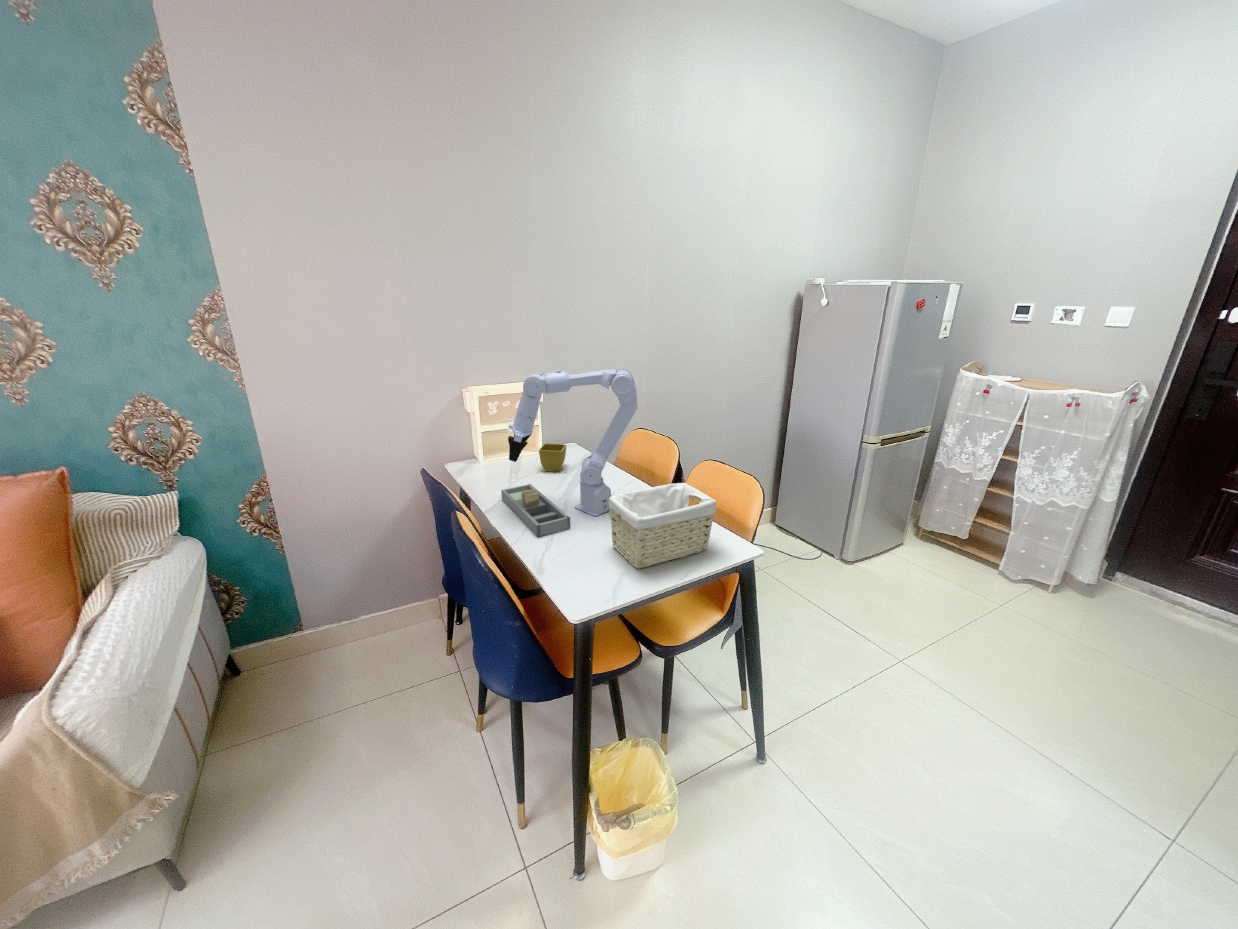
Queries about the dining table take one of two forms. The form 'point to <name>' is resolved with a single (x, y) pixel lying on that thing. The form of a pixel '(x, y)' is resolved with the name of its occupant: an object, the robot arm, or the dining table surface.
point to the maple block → (530, 498)
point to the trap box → (536, 512)
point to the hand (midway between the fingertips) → (514, 456)
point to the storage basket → (660, 523)
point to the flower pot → (552, 456)
